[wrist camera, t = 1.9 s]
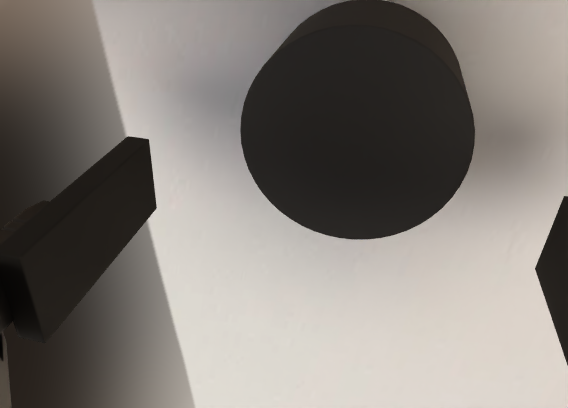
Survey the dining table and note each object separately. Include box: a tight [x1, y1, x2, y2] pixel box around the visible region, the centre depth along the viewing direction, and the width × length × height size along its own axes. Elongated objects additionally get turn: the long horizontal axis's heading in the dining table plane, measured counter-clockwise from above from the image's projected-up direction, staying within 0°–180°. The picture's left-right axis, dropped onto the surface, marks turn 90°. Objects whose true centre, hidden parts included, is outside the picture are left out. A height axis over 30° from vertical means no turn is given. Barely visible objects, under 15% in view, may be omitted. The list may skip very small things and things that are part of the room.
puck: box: [241, 0, 475, 239], centre depth 21 cm, size 9×9×5 cm
